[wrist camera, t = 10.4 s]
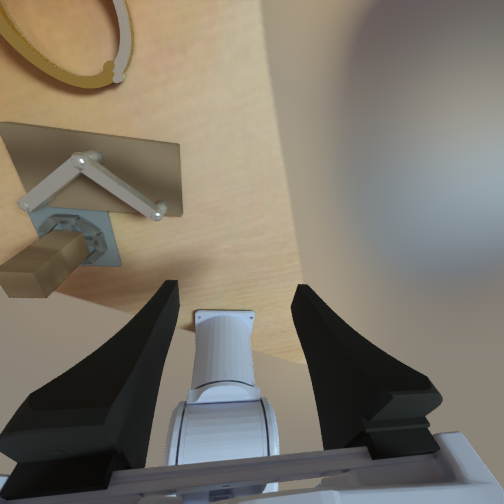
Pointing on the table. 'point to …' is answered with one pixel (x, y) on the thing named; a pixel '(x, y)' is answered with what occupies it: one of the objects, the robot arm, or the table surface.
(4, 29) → the ring
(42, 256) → the ring wand
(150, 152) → the base
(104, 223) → the mat
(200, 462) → the robot arm
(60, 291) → the table surface
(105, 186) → the bent wire
